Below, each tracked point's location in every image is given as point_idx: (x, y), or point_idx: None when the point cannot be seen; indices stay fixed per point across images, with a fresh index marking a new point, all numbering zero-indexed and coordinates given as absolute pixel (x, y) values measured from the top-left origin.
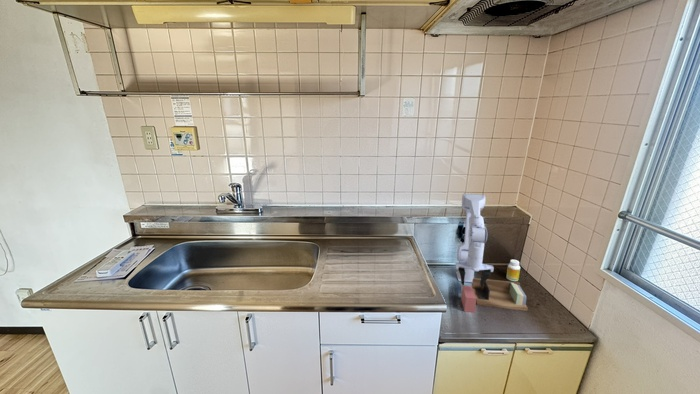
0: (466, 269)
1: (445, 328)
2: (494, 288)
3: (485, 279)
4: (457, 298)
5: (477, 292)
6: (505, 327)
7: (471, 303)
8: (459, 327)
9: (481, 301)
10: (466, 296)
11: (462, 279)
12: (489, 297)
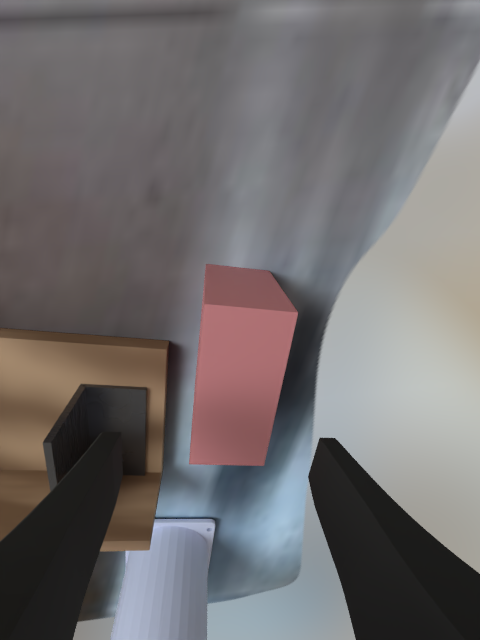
0: (171, 615)
1: (474, 66)
2: (19, 484)
3: (18, 547)
4: None
5: (138, 442)
6: (12, 102)
7: (237, 287)
8: (368, 84)
9: (133, 365)
10: (287, 326)
11: (387, 503)
12: None
